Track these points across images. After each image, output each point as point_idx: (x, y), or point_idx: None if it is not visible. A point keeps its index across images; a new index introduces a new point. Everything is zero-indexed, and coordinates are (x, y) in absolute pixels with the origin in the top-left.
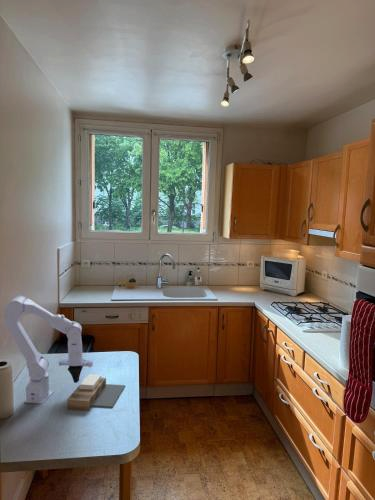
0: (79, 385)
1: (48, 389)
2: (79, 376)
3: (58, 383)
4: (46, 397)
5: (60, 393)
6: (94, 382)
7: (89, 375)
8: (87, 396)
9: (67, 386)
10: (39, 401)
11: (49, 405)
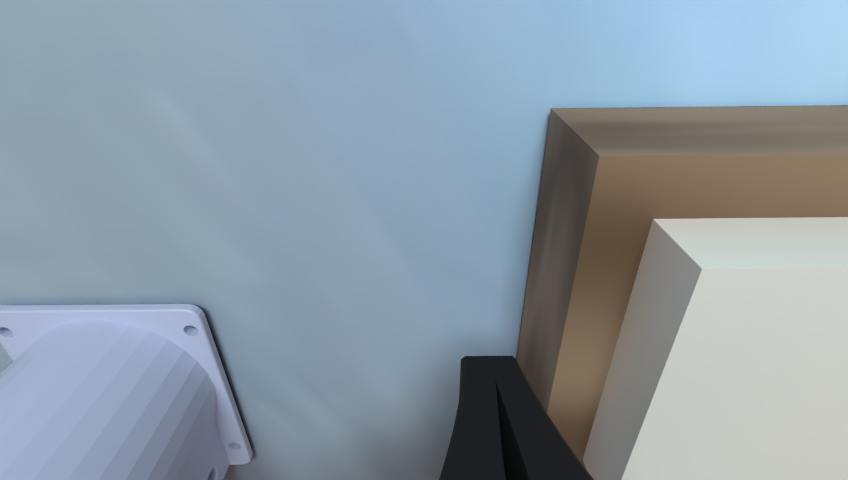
0: (552, 404)
1: (180, 434)
2: (541, 405)
3: (69, 93)
4: (222, 410)
5: (294, 311)
6: (832, 477)
7: (732, 306)
8: None
9: (269, 161)
10: (223, 475)
11: (326, 458)
